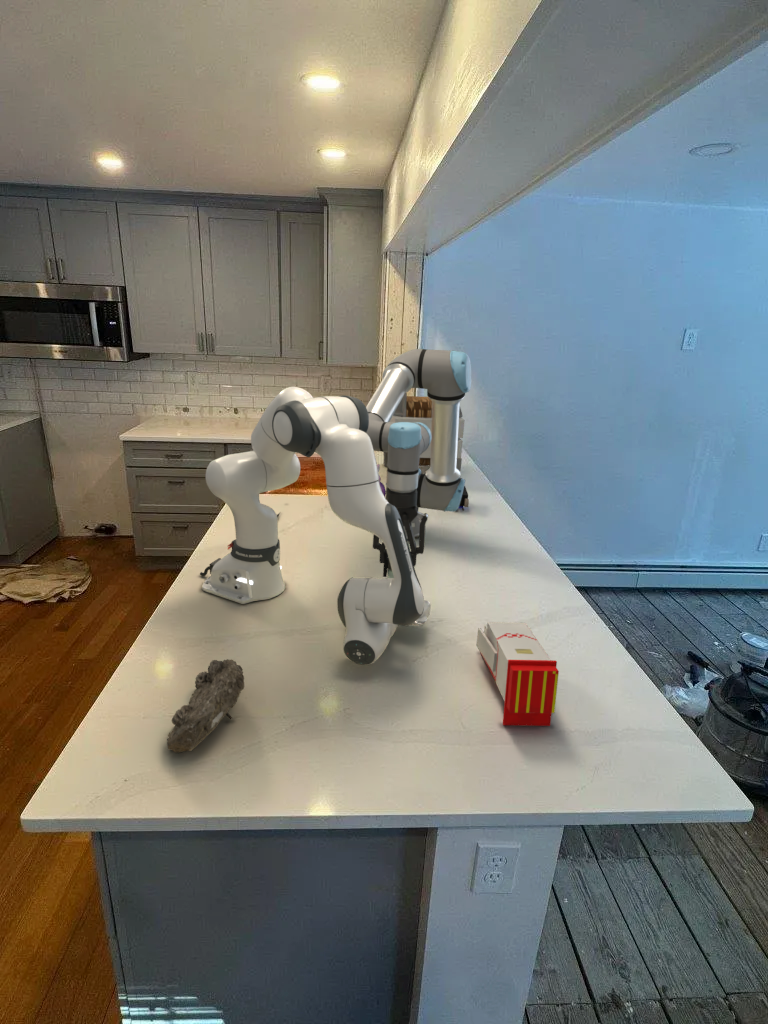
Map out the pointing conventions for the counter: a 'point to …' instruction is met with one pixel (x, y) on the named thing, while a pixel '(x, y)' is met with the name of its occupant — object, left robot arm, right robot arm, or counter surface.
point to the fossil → (206, 705)
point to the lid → (388, 564)
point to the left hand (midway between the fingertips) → (396, 591)
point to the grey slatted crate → (421, 412)
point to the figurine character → (464, 499)
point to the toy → (520, 672)
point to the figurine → (381, 483)
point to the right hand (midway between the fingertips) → (397, 575)
